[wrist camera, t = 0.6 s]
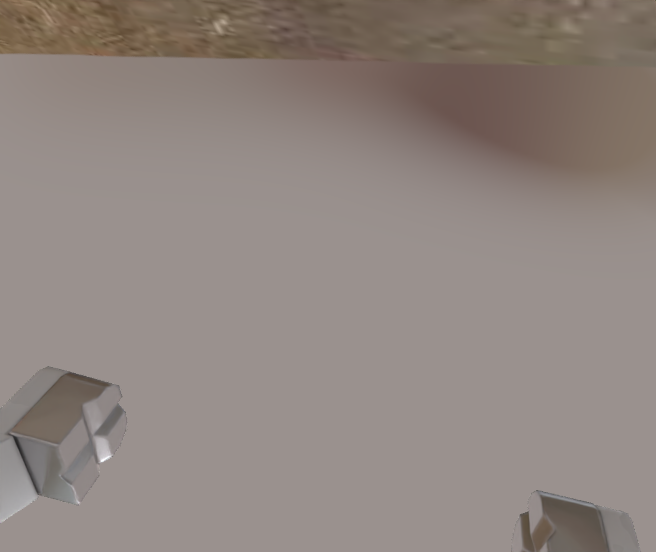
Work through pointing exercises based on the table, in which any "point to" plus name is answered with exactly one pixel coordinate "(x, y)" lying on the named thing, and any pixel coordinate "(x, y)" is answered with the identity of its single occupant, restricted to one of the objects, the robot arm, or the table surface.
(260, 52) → the table surface
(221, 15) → the table surface
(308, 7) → the table surface
